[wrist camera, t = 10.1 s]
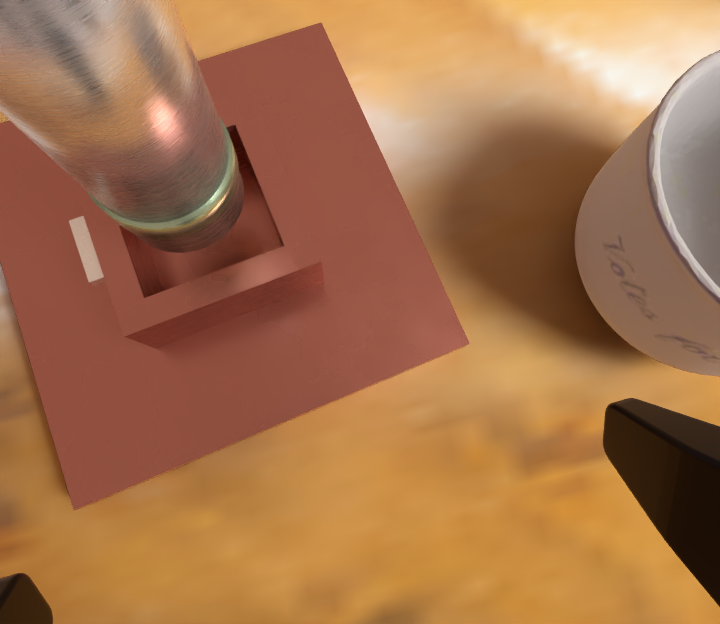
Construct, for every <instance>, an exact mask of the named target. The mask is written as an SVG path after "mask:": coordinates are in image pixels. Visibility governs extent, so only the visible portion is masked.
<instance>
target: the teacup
mask: <svg viewBox="0 0 720 624" xmlns="http://www.w3.org/2000/svg"><path fill="white" fill-rule="evenodd" d="M575 255H576V261H577V266H578V270H579V274H580V277H581V280H582V282H583V285H584V288H585V290H586V292H587V294H588V296H589V298H590V300H591V301H592V303H593V304H594V306H595V308H596V309H597V311H598V312H599V313H600V315H601V316H602V317H603V319H604V320H605V321H606V322H607V323H608V325H609V326H610V327H611V328H612V329H613V330H614V331H615V332H616V333H617V334H618V335H619V336H621V337H622V338H623V339H624V340H625V341H627V342H628V343H629V344H630V345H632V346H633V347H635V348H636V349H638V350H639V351H641V352H642V353H644V354H646V355H648V356H649V357H651V358H653V359H655V360H657V361H659V362H661V363H664V364H666V365H669V366H672V367H674V368H677V369H680V370H684V371H687V372H691V373H696V374H702V375H710V376H719V377H720V50H719V51H717V52H715V53H713V54H711V55H709V56H707V57H705V58H703V59H701V60H700V61H698V62H697V63H696V64H695V65H693V66H692V67H691V68H689V69H688V70H687V71H686V72H685V73H684V74H683V75H682V76H681V77H680V78H679V79H677V80H676V81H675V83H674V84H673V85H672V87H671V88H670V89H669V91H668V92H667V93H666V95H665V96H664V98H663V99H662V101H661V103H660V104H659V105H658V106H657V108H656V109H655V110H654V111H653V112H652V113H651V114H650V115H649V116H648V117H647V118H646V119H645V120H644V121H643V122H642V123H641V124H640V125H639V126H638V127H637V128H636V129H635V130H634V131H633V133H632V134H631V135H630V136H629V137H628V138H627V139H626V140H625V141H624V142H623V143H622V145H621V146H620V147H619V148H618V149H617V150H616V151H615V152H614V154H613V155H612V156H611V157H610V158H609V159H608V161H607V162H606V163H605V164H604V165H603V167H602V168H601V170H600V171H599V172H598V174H597V175H596V177H595V178H594V180H593V181H592V183H591V185H590V186H589V188H588V190H587V192H586V194H585V196H584V198H583V201H582V204H581V207H580V210H579V213H578V217H577V222H576V229H575Z"/></svg>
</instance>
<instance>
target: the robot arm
mask: <svg viewBox="0 0 720 624" xmlns="http://www.w3.org/2000/svg"><path fill="white" fill-rule="evenodd" d="M603 447H604V450H605V453H606V455H607V457H608V459H609V460H610V462H611V463H612V464H613V466H614V467H615V469H616V470H617V472H618V473H619V475H620V476H621V478H622V479H623V481H624V482H625V483H626V485H627V486H628V488H629V489H630V491H631V492H632V494H633V495H634V497H635V498H636V500H637V501H638V502H639V504H640V505H641V507H642V508H643V510H644V511H645V513H646V514H647V516H648V517H649V519H650V520H651V521H652V523H653V524H654V526H655V527H656V529H657V530H658V531H659V533H660V534H661V535H662V537H663V538H664V540H665V541H666V542H667V543H668V545H669V546H670V547H671V548H672V550H673V551H674V552H675V553H676V555H677V556H678V557H679V558H680V560H681V561H682V562H683V563H684V564H685V566H686V567H687V568H688V569H689V570H690V572H691V573H692V574H693V575H694V576H695V578H696V579H697V580H698V581H699V582H700V584H701V585H702V586H703V587H704V588H705V590H706V591H707V592H708V593H709V595H710V596H711V597H712V598H713V599H714V601H715V602H716V603H717V604H718V605H719V607H720V427H719V426H716V425H713V424H710V423H707V422H704V421H701V420H698V419H695V418H692V417H689V416H686V415H683V414H680V413H677V412H674V411H671V410H668V409H665V408H662V407H659V406H656V405H653V404H650V403H647V402H644V401H641V400H638V399H634V398H628V399H624V400H621V401H617V402H614V403H611V404H609V405H608V406H607V408H606V411H605V421H604V433H603ZM0 624H53V616H52V611H51V608H50V606H49V605H48V603H47V602H46V600H45V599H44V597H43V596H42V594H41V593H40V592H39V590H38V589H37V587H36V586H35V584H34V583H33V581H32V580H31V578H30V577H29V576H28V575H26V574H23V573H18V574H14V575H10V576H7V577H3V578H0Z"/></svg>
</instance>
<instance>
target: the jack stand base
mask: <svg viewBox="0 0 720 624" xmlns="http://www.w3.org/2000/svg"><path fill="white" fill-rule="evenodd" d="M197 62H198V65H199V67H200V70H201V72H202V75H203V78H204V80H205V83H206V85H207V88H208V91H209V93H210V96H211V98H212V101H213V104H214V106H215V109H216V111H217V114H218V116H219V117H220V118H221V120H222V121H223V123H224V124H225V126H226V129H227V131H228V133H229V136H230V138H231V141H232V144H233V146H234V149H235V152H236V155H237V159H238V165H239V171H240V174H241V177H242V180H243V185H244V203H243V207H242V211H241V213H240V216H239V218H238V220H237V221H236V223H235V225H234V226H233V227H232V228H231V230H230V231H229V232H228V233H227V234H226V235H225V236H224V237H223V238H221V239H220V240H219V241H217V242H216V243H214V244H212V245H210V246H208V247H206V248H203V249H200V250H197V251H192V252H185V253H174V252H167V251H162V250H159V249H156V248H154V247H152V246H150V245H148V244H146V243H145V242H143V241H142V240H140V239H139V238H138V237H137V236H136V235H135V234H134V233H132V232H130V231H128V230H126V229H125V228H123V227H122V226H120V225H119V224H118V223H116V222H115V221H114V220H113V219H112V218H111V217H110V216H109V215H107V214H106V213H105V212H104V211H103V210H102V209H101V208H100V207H99V206H97V205H96V204H95V202H94V201H93V200H92V199H91V198H90V196H89V194H88V193H87V191H86V190H85V189H84V188H83V187H82V186H81V185H80V184H79V183H78V182H77V181H75V180H74V179H73V178H72V177H71V176H70V175H69V174H68V173H67V172H66V171H65V170H63V169H62V168H61V167H60V166H59V165H58V164H57V163H56V162H55V161H54V160H52V159H51V158H50V157H49V156H48V155H47V154H46V153H45V152H44V151H43V150H41V149H40V148H39V147H38V146H37V145H36V144H35V143H34V142H33V141H32V140H30V139H29V138H28V137H27V136H26V135H25V134H24V133H23V132H22V131H21V130H19V129H18V128H17V127H16V126H15V125H14V124H13V123H12V122H11V121H7V122H4V123H0V262H1V265H2V269H3V272H4V276H5V279H6V282H7V286H8V289H9V293H10V296H11V299H12V303H13V306H14V309H15V313H16V316H17V320H18V323H19V326H20V330H21V333H22V336H23V340H24V343H25V347H26V350H27V353H28V357H29V360H30V363H31V367H32V370H33V374H34V377H35V380H36V384H37V387H38V391H39V394H40V397H41V401H42V404H43V407H44V411H45V414H46V418H47V421H48V424H49V428H50V431H51V434H52V438H53V441H54V445H55V448H56V451H57V455H58V458H59V461H60V465H61V468H62V472H63V475H64V478H65V482H66V485H67V489H68V492H69V495H70V499H71V502H72V505H73V509H74V510H77V509H79V508H82V507H85V506H87V505H90V504H92V503H95V502H97V501H100V500H102V499H104V498H107V497H109V496H111V495H114V494H116V493H119V492H121V491H123V490H126V489H128V488H130V487H133V486H135V485H137V484H140V483H142V482H145V481H147V480H149V479H152V478H154V477H156V476H159V475H161V474H164V473H166V472H168V471H171V470H173V469H175V468H178V467H180V466H182V465H185V464H187V463H190V462H192V461H194V460H197V459H199V458H201V457H204V456H206V455H209V454H211V453H213V452H216V451H218V450H220V449H223V448H225V447H228V446H230V445H232V444H235V443H237V442H239V441H242V440H244V439H246V438H249V437H251V436H254V435H256V434H258V433H261V432H263V431H265V430H268V429H270V428H273V427H275V426H277V425H280V424H282V423H284V422H287V421H289V420H291V419H294V418H296V417H299V416H301V415H303V414H306V413H308V412H310V411H313V410H315V409H318V408H320V407H322V406H325V405H327V404H329V403H332V402H334V401H336V400H339V399H341V398H344V397H346V396H348V395H351V394H353V393H355V392H358V391H360V390H363V389H365V388H367V387H370V386H372V385H374V384H377V383H379V382H381V381H384V380H386V379H389V378H391V377H393V376H396V375H398V374H400V373H403V372H405V371H408V370H410V369H412V368H415V367H417V366H419V365H422V364H424V363H426V362H429V361H431V360H434V359H436V358H438V357H441V356H443V355H445V354H448V353H450V352H453V351H455V350H457V349H460V348H462V347H464V346H466V345H468V344H469V341H468V339H467V337H466V335H465V333H464V331H463V328H462V326H461V324H460V322H459V320H458V318H457V315H456V313H455V311H454V309H453V307H452V305H451V302H450V300H449V298H448V296H447V294H446V292H445V289H444V287H443V285H442V283H441V281H440V279H439V276H438V274H437V272H436V270H435V268H434V266H433V263H432V261H431V259H430V257H429V255H428V253H427V250H426V248H425V246H424V244H423V242H422V240H421V237H420V235H419V233H418V231H417V229H416V227H415V224H414V222H413V220H412V218H411V216H410V214H409V211H408V209H407V207H406V205H405V203H404V201H403V198H402V196H401V194H400V192H399V190H398V188H397V185H396V183H395V181H394V179H393V177H392V175H391V172H390V170H389V168H388V166H387V164H386V162H385V159H384V157H383V155H382V153H381V151H380V149H379V146H378V144H377V142H376V140H375V138H374V136H373V133H372V131H371V129H370V127H369V125H368V123H367V120H366V118H365V116H364V114H363V112H362V110H361V107H360V105H359V103H358V101H357V99H356V97H355V94H354V92H353V90H352V88H351V86H350V84H349V81H348V79H347V77H346V75H345V73H344V71H343V68H342V66H341V64H340V62H339V60H338V58H337V55H336V53H335V51H334V49H333V47H332V45H331V42H330V40H329V38H328V36H327V34H326V32H325V29H324V27H323V25H322V23H318V24H315V25H312V26H308V27H305V28H302V29H299V30H296V31H293V32H289V33H286V34H283V35H280V36H277V37H273V38H270V39H267V40H264V41H261V42H258V43H254V44H251V45H248V46H245V47H242V48H239V49H235V50H232V51H229V52H226V53H223V54H220V55H216V56H213V57H210V58H207V59H204V60H200V61H197Z"/></svg>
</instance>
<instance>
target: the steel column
mask: <svg viewBox="0 0 720 624" xmlns="http://www.w3.org/2000/svg"><path fill="white" fill-rule="evenodd" d="M0 112H1V113H2V114H3V115H4V116H5V117H6V118H7V119H9V120H10V121H11V122H12V123H13V124H14V125H15V126H16V127H17V128H18V129H19V130H21V131H22V132H23V133H24V134H25V135H26V136H27V137H28V138H29V139H30V140H32V141H33V142H34V143H35V144H36V145H37V146H38V147H39V148H40V149H41V150H43V151H44V152H45V153H46V154H47V155H48V156H49V157H50V158H51V159H52V160H54V161H55V162H56V163H57V164H58V165H59V166H60V167H61V168H62V169H63V170H65V171H66V172H67V173H68V174H69V175H70V176H71V177H72V178H73V179H74V180H75V181H77V182H78V183H79V184H80V185H81V186H82V187H83V188H84V189H85V190H86V191H87V193H88V194H89V196H90V198H91V199H92V200H93V201H94V202H95V204H96V205H97V206H99V207H100V208H101V209H102V210H103V211H104V212H105V213H106V214H107V215H109V216H110V217H111V218H112V219H113V220H114V221H115V222H116V223H118V224H119V225H120V226H122V227H123V228H125V229H126V230H128V231H130V232H132V233H134V234H135V235H136V236H137V237H138V238H139V239H140V240H142V241H143V242H145V243H146V244H148V245H150V246H152V247H154V248H156V249H159V250H162V251H167V252H174V253H185V252H192V251H197V250H200V249H203V248H206V247H208V246H210V245H212V244H214V243H216V242H217V241H219V240H220V239H221V238H223V237H224V236H225V235H226V234H227V233H228V232H229V231H230V230H231V228H232V227H233V226H234V225H235V223H236V221H237V220H238V218H239V216H240V213H241V211H242V207H243V203H244V185H243V180H242V177H241V174H240V171H239V165H238V159H237V155H236V152H235V149H234V146H233V144H232V141H231V138H230V136H229V133H228V131H227V129H226V126H225V124H224V123H223V121H222V120H221V118H220V117H219V116H218V114H217V111H216V109H215V106H214V104H213V101H212V98H211V96H210V93H209V91H208V88H207V85H206V83H205V80H204V78H203V75H202V72H201V70H200V67H199V65H198V62H197V59H196V57H195V54H194V51H193V49H192V46H191V44H190V41H189V38H188V36H187V33H186V31H185V28H184V25H183V23H182V20H181V18H180V15H179V12H178V10H177V7H176V5H175V2H174V0H0Z"/></svg>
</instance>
